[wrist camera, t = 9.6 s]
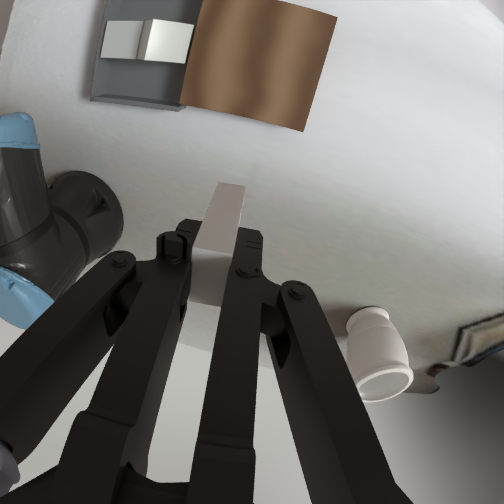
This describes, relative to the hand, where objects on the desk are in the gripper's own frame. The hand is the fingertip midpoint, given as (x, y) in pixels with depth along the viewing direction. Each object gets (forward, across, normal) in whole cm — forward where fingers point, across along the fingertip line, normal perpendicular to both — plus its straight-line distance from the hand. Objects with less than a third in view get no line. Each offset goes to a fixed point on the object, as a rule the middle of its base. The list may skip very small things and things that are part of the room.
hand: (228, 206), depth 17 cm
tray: (+25, -15, +10) cm, 30 cm away
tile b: (+22, -13, +10) cm, 28 cm away
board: (+24, -1, +9) cm, 26 cm away
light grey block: (+21, -18, +10) cm, 29 cm away
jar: (+25, +27, -30) cm, 47 cm away
